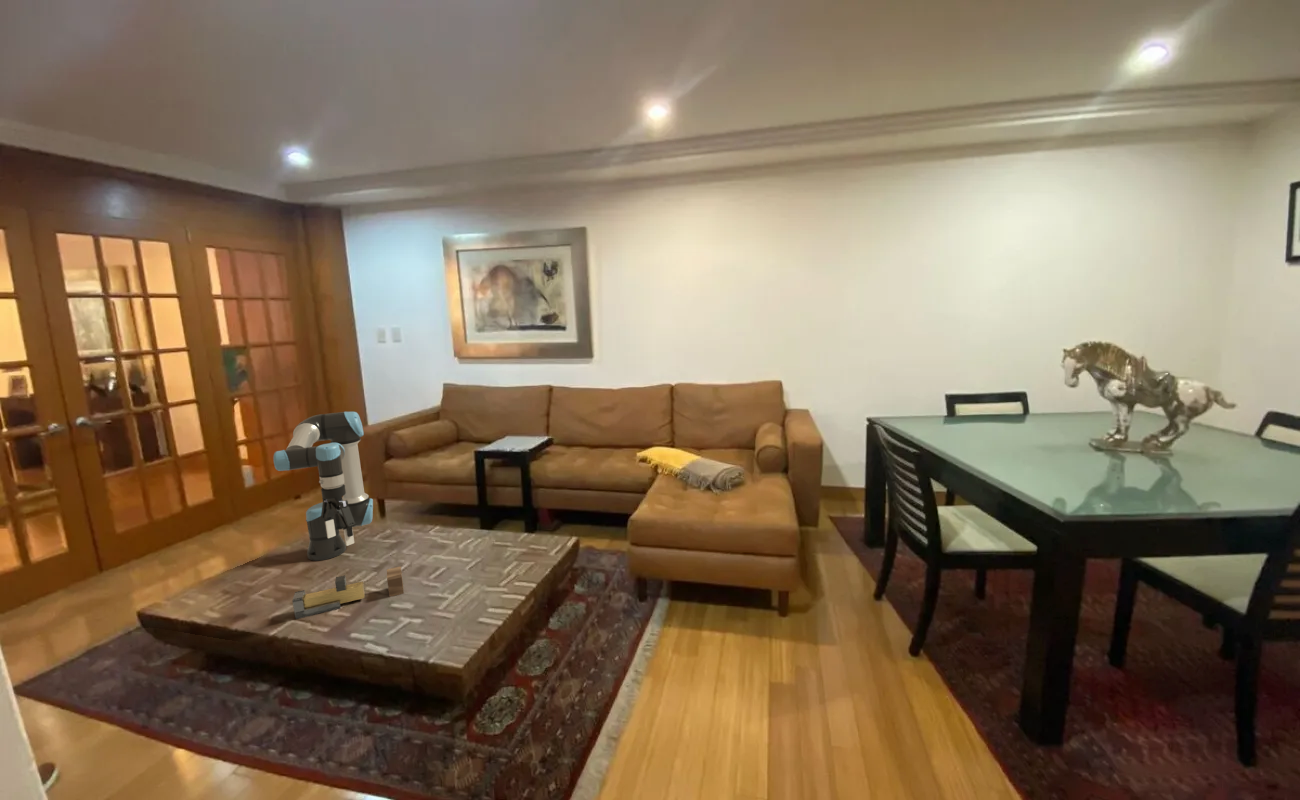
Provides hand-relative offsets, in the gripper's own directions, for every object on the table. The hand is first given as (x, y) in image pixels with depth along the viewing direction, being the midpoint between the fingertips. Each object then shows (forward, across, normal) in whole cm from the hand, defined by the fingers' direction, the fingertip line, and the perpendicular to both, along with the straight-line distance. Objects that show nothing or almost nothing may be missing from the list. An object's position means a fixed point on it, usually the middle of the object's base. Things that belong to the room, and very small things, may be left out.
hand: (340, 540), depth 195 cm
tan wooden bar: (+23, -2, -5) cm, 24 cm away
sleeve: (+24, -4, -9) cm, 26 cm away
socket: (+24, +9, +14) cm, 29 cm away
